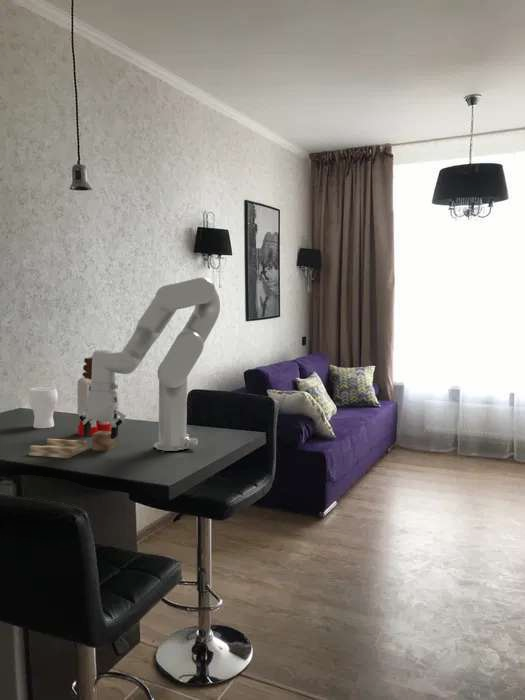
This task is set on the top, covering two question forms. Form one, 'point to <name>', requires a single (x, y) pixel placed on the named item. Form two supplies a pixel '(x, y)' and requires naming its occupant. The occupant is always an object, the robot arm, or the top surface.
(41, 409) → the cup
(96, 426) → the toy
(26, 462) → the top surface
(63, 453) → the board
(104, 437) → the walnut block
